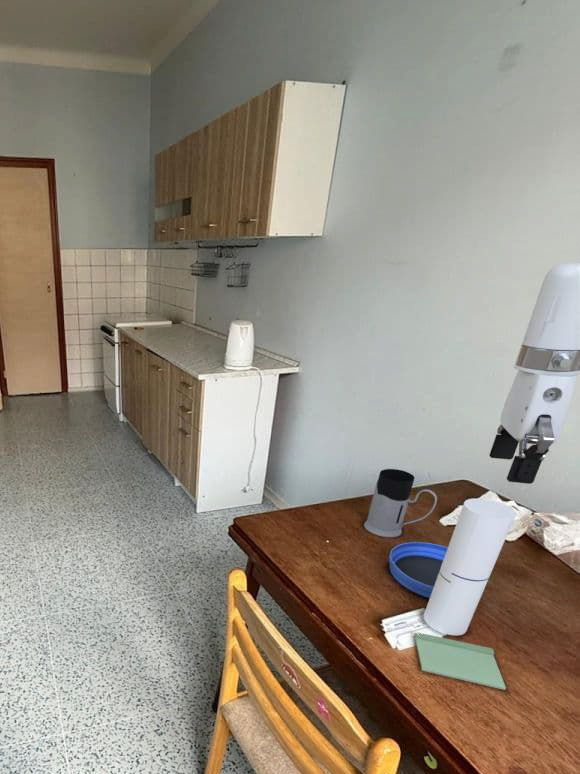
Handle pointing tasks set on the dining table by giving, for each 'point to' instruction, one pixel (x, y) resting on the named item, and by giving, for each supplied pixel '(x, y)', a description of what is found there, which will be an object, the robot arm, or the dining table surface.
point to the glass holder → (391, 503)
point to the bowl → (417, 565)
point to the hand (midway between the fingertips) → (509, 469)
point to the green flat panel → (458, 660)
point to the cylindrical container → (468, 564)
